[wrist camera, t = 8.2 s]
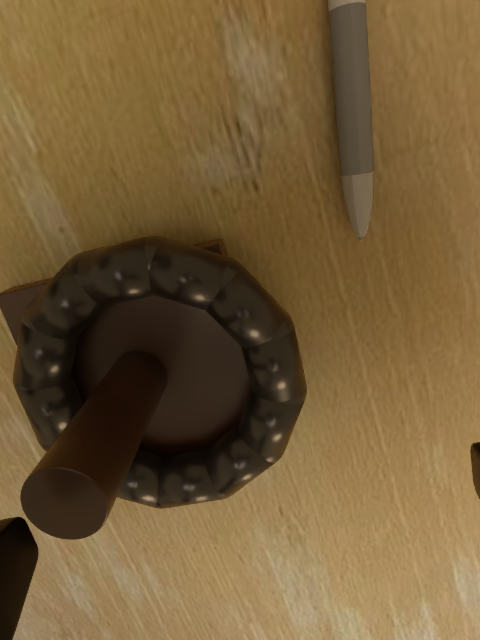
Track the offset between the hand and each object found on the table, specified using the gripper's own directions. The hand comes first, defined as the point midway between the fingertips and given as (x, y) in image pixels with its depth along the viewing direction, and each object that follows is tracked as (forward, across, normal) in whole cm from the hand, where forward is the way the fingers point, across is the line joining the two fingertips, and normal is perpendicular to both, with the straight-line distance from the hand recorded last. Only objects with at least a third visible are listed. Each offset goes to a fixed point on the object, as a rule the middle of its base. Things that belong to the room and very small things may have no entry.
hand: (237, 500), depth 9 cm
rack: (+8, +4, 0) cm, 9 cm away
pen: (+8, -5, -10) cm, 14 cm away
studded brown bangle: (+6, +3, 0) cm, 7 cm away
